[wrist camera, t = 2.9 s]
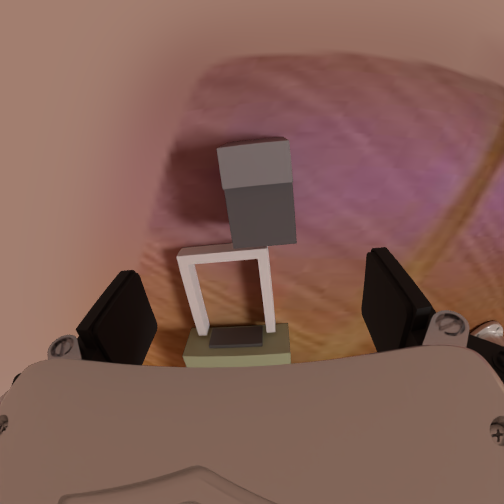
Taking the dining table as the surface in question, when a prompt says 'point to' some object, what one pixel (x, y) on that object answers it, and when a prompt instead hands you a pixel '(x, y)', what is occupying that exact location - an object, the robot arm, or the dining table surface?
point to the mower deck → (231, 338)
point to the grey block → (258, 191)
